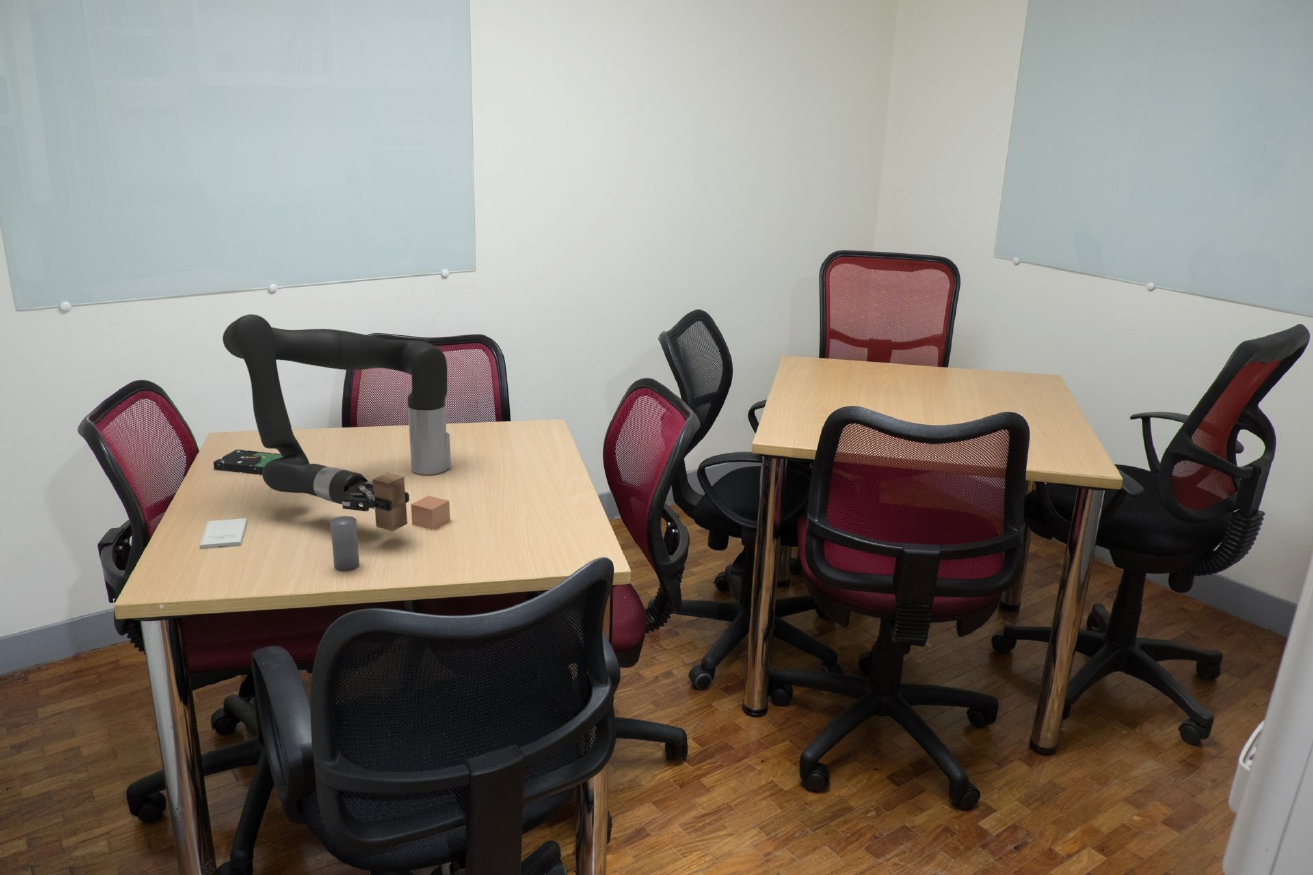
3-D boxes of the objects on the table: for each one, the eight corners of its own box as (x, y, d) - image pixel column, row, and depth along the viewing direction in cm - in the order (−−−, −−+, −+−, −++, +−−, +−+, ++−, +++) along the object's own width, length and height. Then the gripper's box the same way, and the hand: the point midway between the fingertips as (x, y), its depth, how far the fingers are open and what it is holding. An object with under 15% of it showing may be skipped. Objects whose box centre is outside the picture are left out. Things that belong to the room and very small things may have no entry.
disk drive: (213, 472, 255) (266, 477, 253) (212, 462, 254) (265, 466, 252) (237, 458, 265) (288, 463, 262) (235, 448, 264) (287, 453, 261)
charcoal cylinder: (353, 558, 210) (350, 514, 206) (363, 566, 206) (360, 522, 203) (330, 564, 207) (326, 519, 203) (339, 573, 203) (336, 527, 200)
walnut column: (391, 519, 219) (387, 472, 215) (407, 523, 217) (404, 476, 213) (376, 526, 215) (372, 479, 212) (392, 531, 213) (388, 483, 210)
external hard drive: (247, 524, 225) (241, 547, 214) (208, 527, 223) (199, 551, 212) (247, 518, 225) (240, 540, 214) (207, 521, 223) (198, 544, 212)
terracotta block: (429, 515, 232) (428, 495, 230) (450, 520, 229) (449, 500, 228) (412, 524, 227) (410, 504, 225) (433, 530, 224) (432, 509, 223)
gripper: (314, 480, 213) (374, 497, 206) (362, 460, 225) (421, 474, 218) (317, 513, 216) (377, 530, 208) (365, 491, 228) (423, 506, 220)
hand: (399, 501), depth 213 cm, fingers closed on walnut column, 4 cm apart
